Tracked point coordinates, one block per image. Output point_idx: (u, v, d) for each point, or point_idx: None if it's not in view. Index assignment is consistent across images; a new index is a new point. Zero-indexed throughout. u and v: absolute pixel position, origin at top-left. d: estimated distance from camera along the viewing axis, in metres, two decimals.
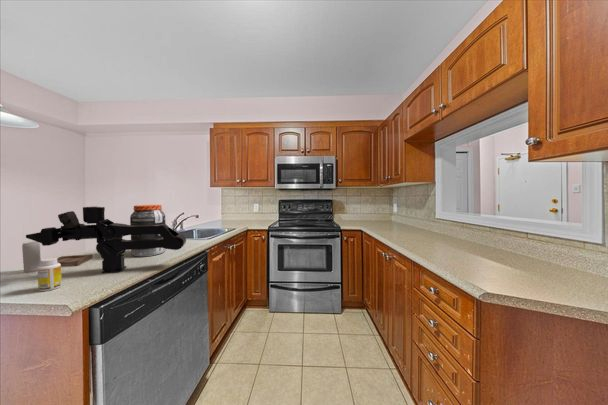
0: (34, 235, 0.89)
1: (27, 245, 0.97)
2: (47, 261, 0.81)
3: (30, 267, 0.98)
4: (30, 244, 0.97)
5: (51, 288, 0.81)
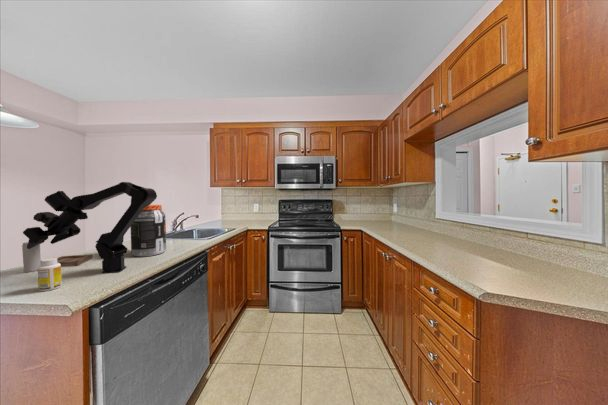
0: (29, 242, 0.94)
1: None
2: (47, 261, 0.81)
3: (30, 267, 0.98)
4: None
5: (51, 288, 0.81)
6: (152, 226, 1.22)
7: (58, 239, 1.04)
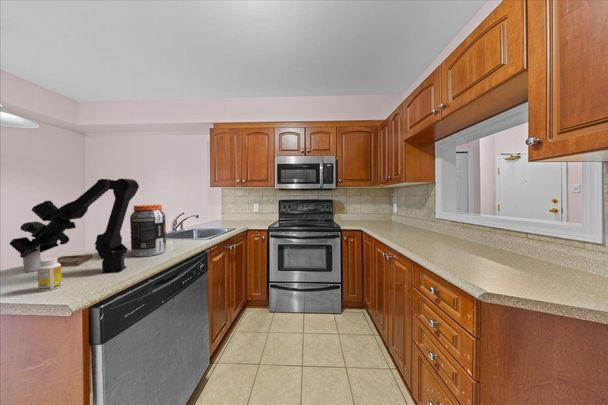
0: None
1: None
2: (47, 261, 0.81)
3: (30, 267, 0.98)
4: None
5: (51, 288, 0.81)
6: (152, 226, 1.22)
7: (41, 250, 1.02)
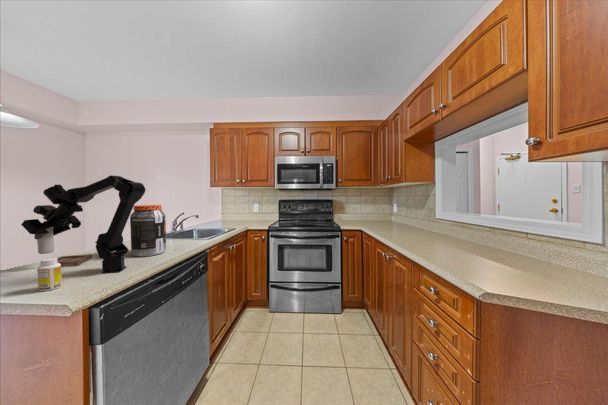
0: None
1: None
2: (47, 261, 0.81)
3: (43, 248, 1.01)
4: None
5: (51, 288, 0.81)
6: (152, 226, 1.22)
7: (55, 232, 1.06)
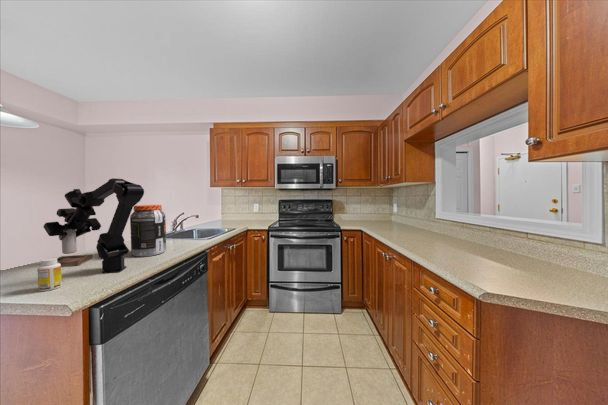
0: None
1: None
2: (47, 261, 0.81)
3: (65, 249, 1.08)
4: None
5: (51, 288, 0.81)
6: (152, 226, 1.22)
7: (77, 234, 1.12)
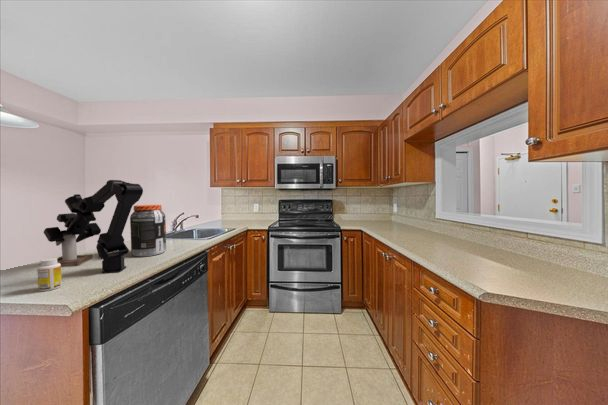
0: None
1: (63, 237, 1.08)
2: (47, 261, 0.81)
3: (65, 256, 1.08)
4: (65, 236, 1.08)
5: (51, 288, 0.81)
6: (152, 226, 1.22)
7: (80, 238, 1.13)
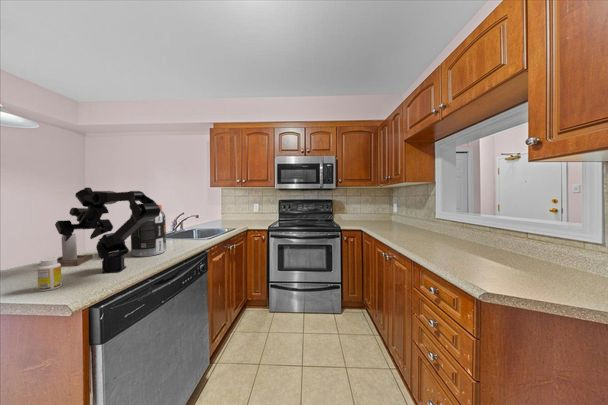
0: (64, 235, 1.01)
1: None
2: (47, 261, 0.81)
3: (66, 256, 1.08)
4: None
5: (51, 288, 0.81)
6: (152, 226, 1.22)
7: (94, 234, 1.10)
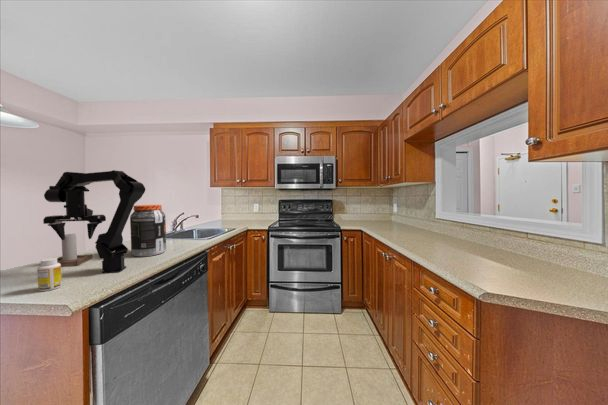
0: None
1: None
2: (47, 261, 0.81)
3: (66, 256, 1.08)
4: (66, 236, 1.08)
5: (51, 288, 0.81)
6: (152, 226, 1.22)
7: None
